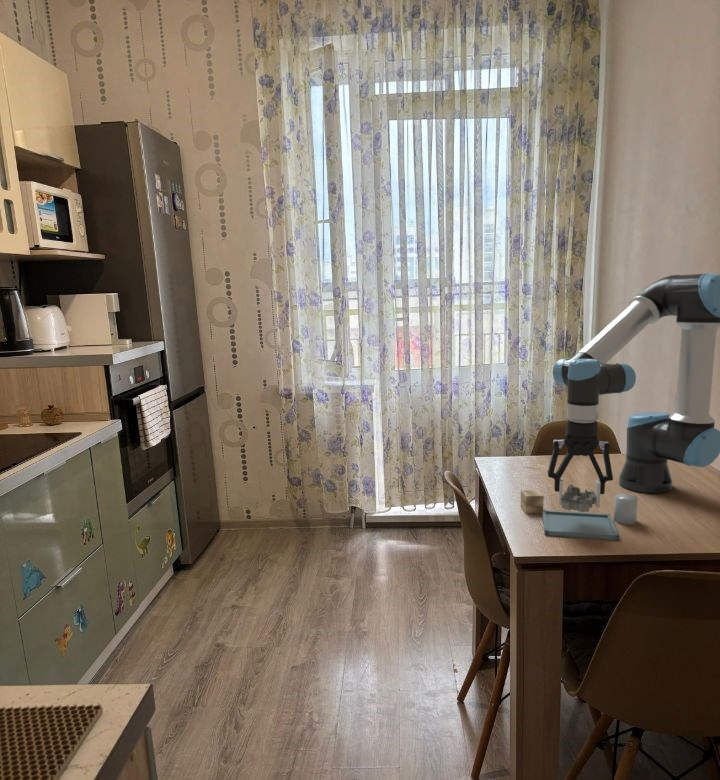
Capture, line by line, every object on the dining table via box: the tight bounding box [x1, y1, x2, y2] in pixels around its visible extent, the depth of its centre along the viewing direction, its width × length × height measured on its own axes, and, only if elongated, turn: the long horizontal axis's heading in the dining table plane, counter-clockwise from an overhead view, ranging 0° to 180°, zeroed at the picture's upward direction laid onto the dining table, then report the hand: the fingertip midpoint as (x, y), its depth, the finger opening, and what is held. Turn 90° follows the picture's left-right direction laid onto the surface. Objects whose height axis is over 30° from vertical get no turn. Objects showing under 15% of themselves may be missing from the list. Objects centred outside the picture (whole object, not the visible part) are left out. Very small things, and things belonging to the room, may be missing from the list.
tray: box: [541, 509, 620, 541], centre depth 158 cm, size 18×15×1 cm
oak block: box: [520, 489, 545, 514], centre depth 170 cm, size 5×5×5 cm
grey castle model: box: [561, 483, 596, 513], centre depth 157 cm, size 11×8×4 cm
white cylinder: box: [613, 493, 639, 526], centre depth 161 cm, size 6×6×6 cm
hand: (578, 504), depth 157 cm, fingers closed on grey castle model, 8 cm apart
